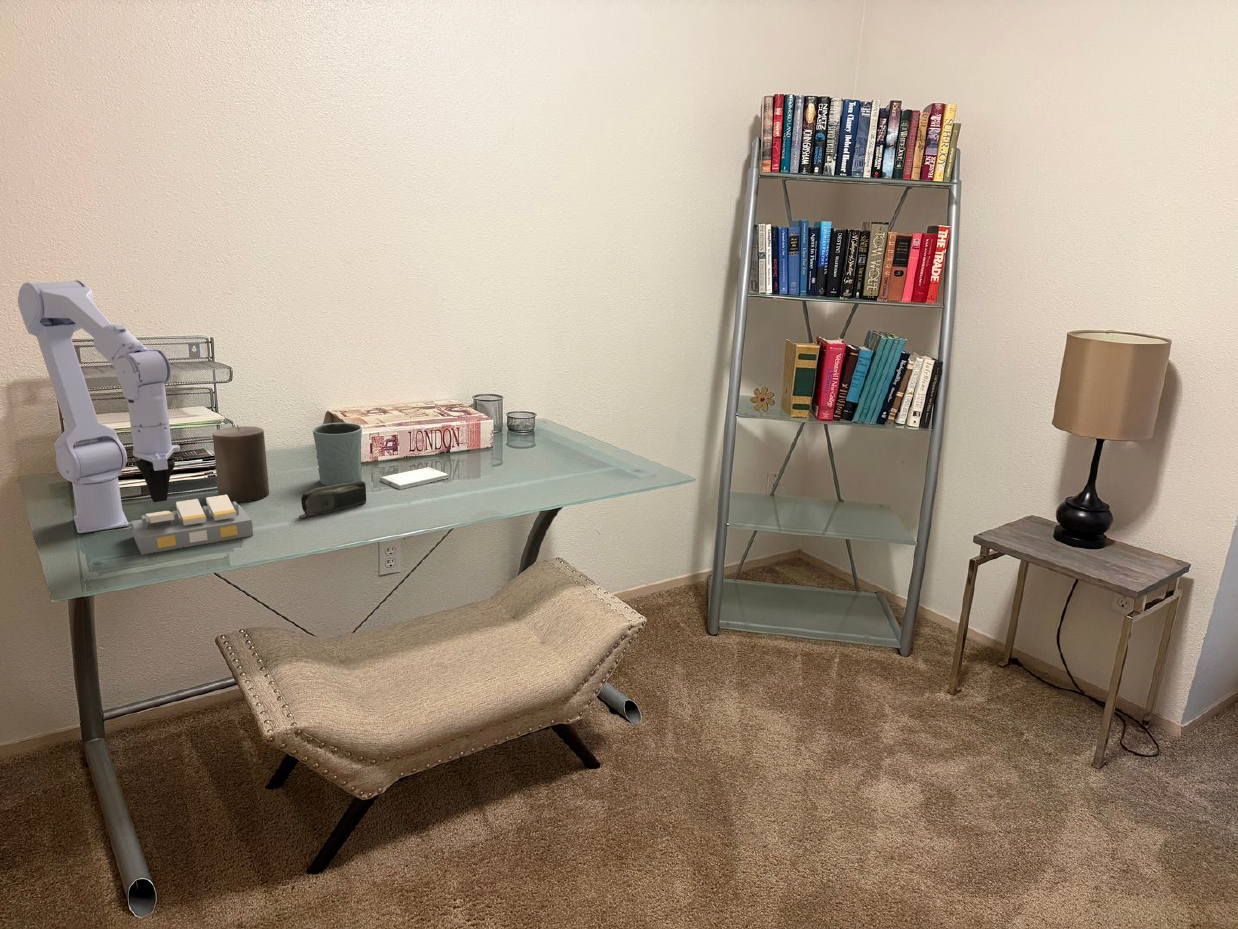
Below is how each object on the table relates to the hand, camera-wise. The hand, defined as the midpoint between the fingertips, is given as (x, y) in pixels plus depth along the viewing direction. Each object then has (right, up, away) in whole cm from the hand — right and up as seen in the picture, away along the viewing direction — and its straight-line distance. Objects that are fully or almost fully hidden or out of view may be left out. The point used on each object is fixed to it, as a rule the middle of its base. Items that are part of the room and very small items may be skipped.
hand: (159, 500), depth 148 cm
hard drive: (+33, +2, +44) cm, 55 cm away
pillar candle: (+2, 0, +30) cm, 30 cm away
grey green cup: (+18, +2, +41) cm, 45 cm away
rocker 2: (+3, -2, +6) cm, 7 cm away
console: (+2, -7, +7) cm, 10 cm away
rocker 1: (-2, -3, +3) cm, 4 cm away
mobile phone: (+22, -3, +23) cm, 32 cm away
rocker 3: (+7, -2, +9) cm, 11 cm away
